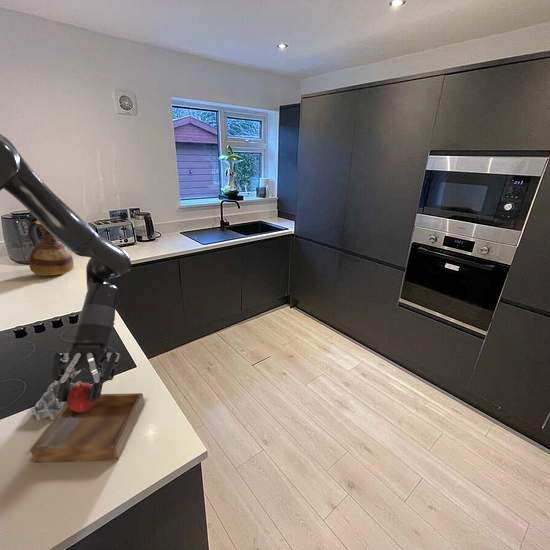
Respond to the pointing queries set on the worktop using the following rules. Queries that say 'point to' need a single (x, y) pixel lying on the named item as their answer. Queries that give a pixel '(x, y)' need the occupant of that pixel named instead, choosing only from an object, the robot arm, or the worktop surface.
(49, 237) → the ceramic pitcher
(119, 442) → the wooden tray
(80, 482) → the worktop surface
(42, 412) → the egg carton
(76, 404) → the onion
